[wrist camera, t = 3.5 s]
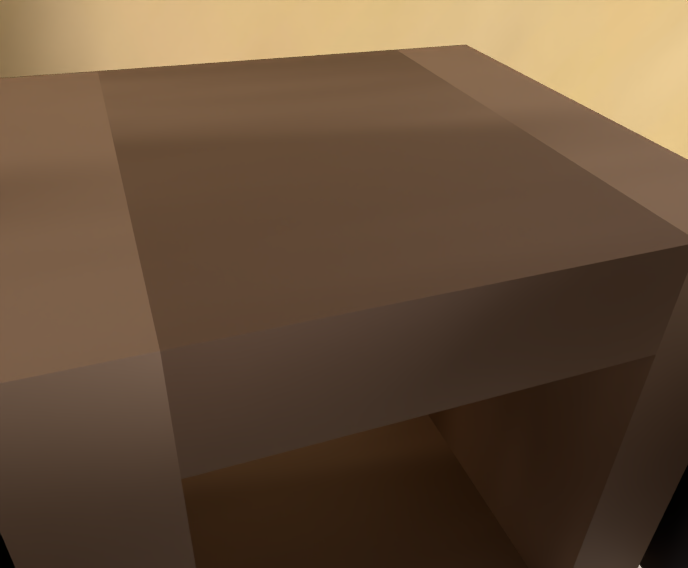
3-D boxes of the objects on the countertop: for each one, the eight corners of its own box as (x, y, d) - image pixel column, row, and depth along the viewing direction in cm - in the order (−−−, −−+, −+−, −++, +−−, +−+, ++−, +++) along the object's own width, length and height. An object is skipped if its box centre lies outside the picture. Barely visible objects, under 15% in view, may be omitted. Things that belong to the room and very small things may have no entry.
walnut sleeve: (423, 367, 12) (608, 629, 8) (95, 445, 10) (127, 827, 6) (466, 45, 9) (806, 220, 5) (-3, 78, 7) (-59, 393, 3)
